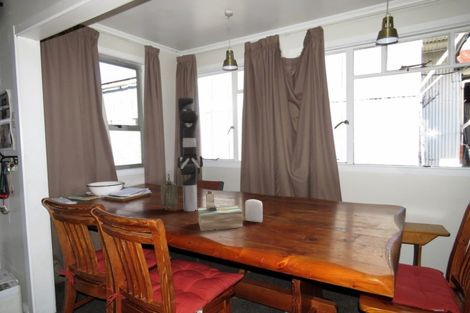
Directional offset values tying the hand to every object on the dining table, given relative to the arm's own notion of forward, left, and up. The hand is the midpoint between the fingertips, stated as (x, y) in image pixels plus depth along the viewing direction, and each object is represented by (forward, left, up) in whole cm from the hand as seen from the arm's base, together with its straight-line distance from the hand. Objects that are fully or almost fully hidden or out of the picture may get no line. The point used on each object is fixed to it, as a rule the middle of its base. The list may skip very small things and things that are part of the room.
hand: (190, 174), depth 160 cm
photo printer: (+7, +35, -28) cm, 45 cm away
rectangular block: (+9, +15, -27) cm, 32 cm away
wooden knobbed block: (+9, +10, -19) cm, 23 cm away
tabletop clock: (-35, -13, -28) cm, 46 cm away
